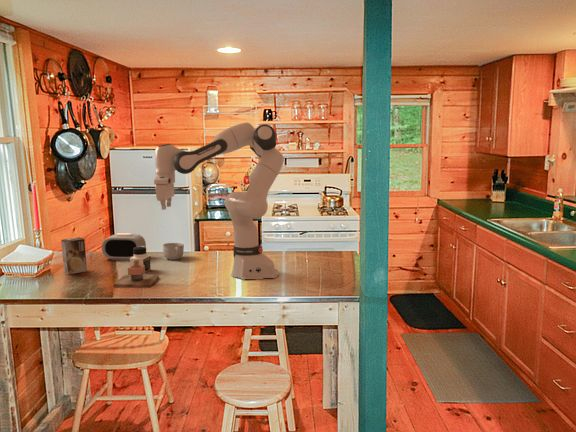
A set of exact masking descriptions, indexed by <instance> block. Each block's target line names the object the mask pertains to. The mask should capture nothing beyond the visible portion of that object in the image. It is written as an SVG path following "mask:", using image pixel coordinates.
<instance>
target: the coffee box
mask: <svg viewBox="0 0 576 432" xmlns="http://www.w3.org/2000/svg"><path fill="white" fill-rule="evenodd" d="M61 250H62V251H61V252H62V262H63V263H62V264H63V272H64V273H65V274H67V275H73V274H78V273H79V274H80V273H85V272H88V267H87V255H86V243H85V238H83V237H79V236H78V237H71V238H64V239H61Z"/></svg>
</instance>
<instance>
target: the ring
mask: <svg viewBox="0 0 576 432" xmlns="http://www.w3.org/2000/svg"><path fill="white" fill-rule="evenodd" d="M144 272H145V265H139V268H134V267H133V265H131V266H129V267H127V275H142V274H145V273H146V272H145V273H144Z"/></svg>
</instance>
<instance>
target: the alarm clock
mask: <svg viewBox="0 0 576 432" xmlns="http://www.w3.org/2000/svg"><path fill="white" fill-rule="evenodd" d="M101 243H102V244H101V252H102V254H103V256H104V257H105V258H107V259H110V260H111V261H130V258H131V257H133V256H134V255H133V248H134V247H137V246H144V247H146V248H147V244H146V240H145V238H144V237H143V236H142V235H140V234H136V233H135V234H134V233H133V234H132V233H130V232H129V233H127V232H126V233H123V232H121V233H119V232H118V233H115V234H112V235H110V236H109V237H107V238H105V239H104V240H103V241H102V242H101Z"/></svg>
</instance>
